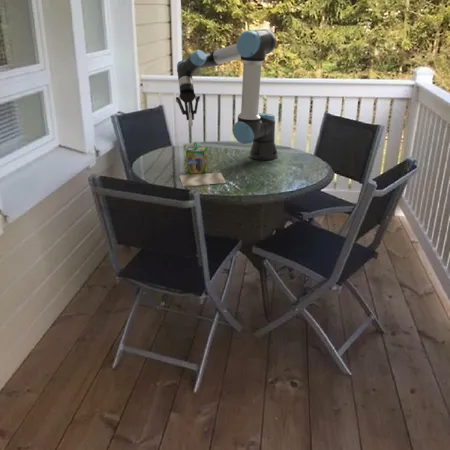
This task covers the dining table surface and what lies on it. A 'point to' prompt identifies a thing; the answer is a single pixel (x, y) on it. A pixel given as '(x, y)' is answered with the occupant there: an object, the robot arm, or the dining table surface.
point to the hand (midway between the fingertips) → (191, 124)
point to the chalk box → (197, 160)
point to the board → (202, 179)
